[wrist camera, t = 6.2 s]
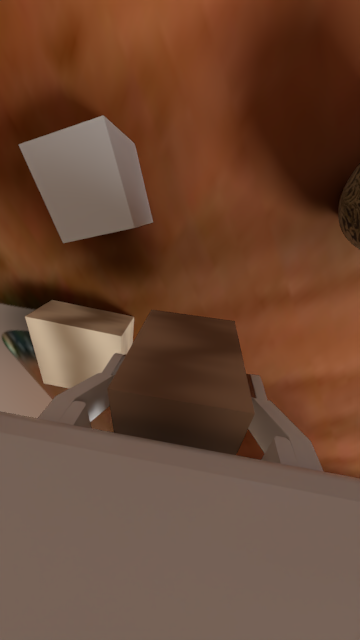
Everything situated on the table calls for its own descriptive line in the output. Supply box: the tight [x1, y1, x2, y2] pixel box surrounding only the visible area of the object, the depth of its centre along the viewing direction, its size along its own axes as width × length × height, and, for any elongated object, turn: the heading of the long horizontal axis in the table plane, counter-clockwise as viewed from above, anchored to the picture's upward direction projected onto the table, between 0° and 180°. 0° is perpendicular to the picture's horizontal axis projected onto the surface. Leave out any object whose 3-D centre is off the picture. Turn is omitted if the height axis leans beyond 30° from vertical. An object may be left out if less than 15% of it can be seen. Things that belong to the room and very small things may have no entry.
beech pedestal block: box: [25, 300, 134, 389], centre depth 22 cm, size 9×9×4 cm
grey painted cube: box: [18, 115, 153, 243], centre depth 13 cm, size 5×5×5 cm
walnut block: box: [107, 310, 255, 455], centre depth 10 cm, size 5×5×6 cm
